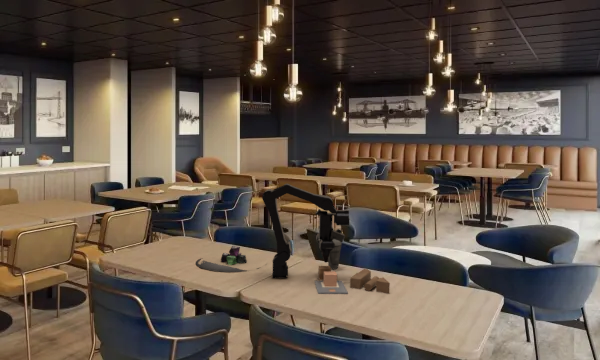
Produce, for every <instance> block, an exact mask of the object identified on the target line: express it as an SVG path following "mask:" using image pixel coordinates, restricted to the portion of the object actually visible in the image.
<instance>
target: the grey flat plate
mask: <svg viewBox="0 0 600 360" xmlns="http://www.w3.org/2000/svg"><path fill="white" fill-rule="evenodd" d="M314 285H315V289H316V292H317V294H318V295H327V294H328V295H348V294H349V293H348V290H347V288H346V286H345V284H344V281H343V280H337V286H324V283H323V280H314Z"/></svg>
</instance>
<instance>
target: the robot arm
mask: <svg viewBox="0 0 600 360" xmlns="http://www.w3.org/2000/svg"><path fill="white" fill-rule="evenodd" d="M286 194H287V195H290V196H293V197H297V198H298V199H301V200H304V201H307V202H309V203H312V205H313V204H314V205H315V206H316V207H318V208H319V209H318V210H317V211H316V212H315V215H316V216H319V218H318V219H319V221H318V222H319V224H318V225H319V226H318V233H317V234H316V243H317V245H318V248H319V251H320V254H321V257H322V260H323V261H324V263H328V257H329V254H330V251H331V250H333V249H334V248H335V243H334V242H333V241H332V240H333V239H336V240H338V241H340V242H341V243H343V242H344V240H345V237H346V235H345V234H344V233H342V230H341V229H339V228H337V229H336V230H334V228H332V227H333V223H334V224H336V226H343V227H344V226H350V220H351V219H350V210H348V209H344V210H342V209H341V210H340V209H339V210H338V209H337V207H336V206H335V205H334V202H333V199H332V197H331V196H329V195H323V194H316V193H313V192H310V191H307V190H305V189H302V188H300V187H298V186H297V187H296V186H294V185H291V184H289V183H285V184H283V185H281V186H277V187H276V188H274V189H272V188H270V189H269V188H268V189H267V190H265V191H264V192H263V193H262V197H261V199H262V201H263V204H264V206H265V208H266V209H267V210H268V214H269V217H270V221H271V225H272V229H273V233H274V235H275V237H274V238H275V241H276V254H274V256H273V258H272V273H271V278H272V279H288V276H289V265H288V263H287V262H288V261H289V260H290V258H291V256H292V255H291V254H292V253H293V252H292V251H293V248H292V246H291V240H290V241H287V239H286V237H285V233H284V229H283V225H282V222H281V219H280V217H281V216H280V214H279V210H278V198H280V197H282V196H285V195H286ZM321 209H322V210H321Z"/></svg>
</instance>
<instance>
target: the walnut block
mask: <svg viewBox="0 0 600 360" xmlns="http://www.w3.org/2000/svg"><path fill="white" fill-rule="evenodd" d="M317 268H318V272H317V273H318V276H317V277H318V281H323V280H324V271H332V269H331V268H330V266H329V265H318V267H317Z"/></svg>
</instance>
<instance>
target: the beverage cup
mask: <svg viewBox="0 0 600 360" xmlns="http://www.w3.org/2000/svg"><path fill="white" fill-rule="evenodd" d="M332 228H333V226H332ZM333 229H334V228H333ZM332 241H333V242H334V243H335V248H334V249H333V250H331V251H330V254H329V257H328V261H327V264H328V265H327V266H330V268H331V271H333V270H334V271H335V270H338V269H339V265H340V259H341V257H340V255H341V250H342V242H340V241H338V240H336V239H333V240H332Z"/></svg>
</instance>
